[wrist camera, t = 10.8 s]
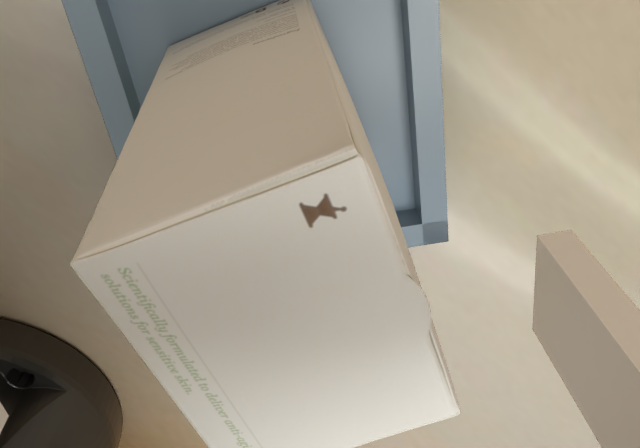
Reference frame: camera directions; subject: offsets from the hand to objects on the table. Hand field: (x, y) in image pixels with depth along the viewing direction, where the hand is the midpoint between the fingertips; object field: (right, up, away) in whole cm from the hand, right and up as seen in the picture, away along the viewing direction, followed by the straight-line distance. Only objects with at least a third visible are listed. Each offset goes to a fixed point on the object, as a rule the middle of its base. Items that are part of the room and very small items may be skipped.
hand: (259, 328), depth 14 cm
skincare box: (0, +8, +13) cm, 15 cm away
